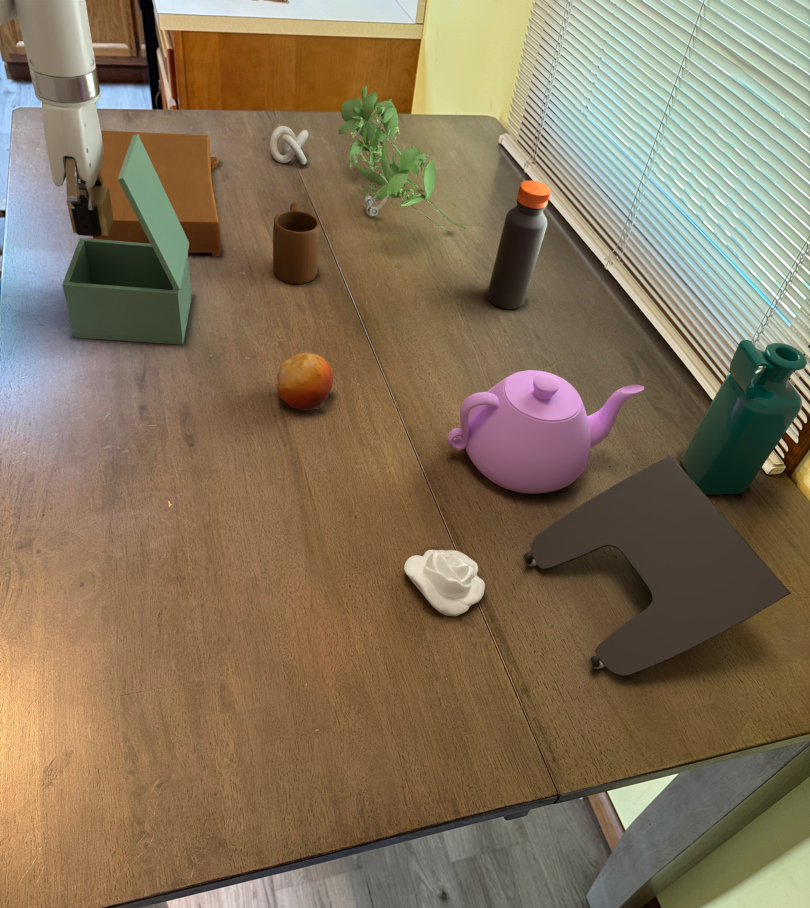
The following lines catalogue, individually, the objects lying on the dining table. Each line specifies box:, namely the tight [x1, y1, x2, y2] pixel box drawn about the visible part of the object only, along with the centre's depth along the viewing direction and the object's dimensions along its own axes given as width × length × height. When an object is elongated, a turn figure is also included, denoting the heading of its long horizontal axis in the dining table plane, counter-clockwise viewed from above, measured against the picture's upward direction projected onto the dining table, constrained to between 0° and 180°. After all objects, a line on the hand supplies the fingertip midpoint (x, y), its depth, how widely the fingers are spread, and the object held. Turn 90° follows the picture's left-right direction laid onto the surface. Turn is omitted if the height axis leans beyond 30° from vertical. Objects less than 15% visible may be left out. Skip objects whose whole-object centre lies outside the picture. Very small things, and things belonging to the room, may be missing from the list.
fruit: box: [276, 352, 334, 411], centre depth 110 cm, size 8×8×8 cm
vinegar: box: [486, 180, 551, 310], centre depth 128 cm, size 7×7×20 cm
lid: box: [118, 134, 189, 291], centre depth 107 cm, size 16×13×1 cm
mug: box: [272, 202, 321, 285], centre depth 130 cm, size 12×8×9 cm, turn 7°
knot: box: [269, 125, 309, 165], centre depth 156 cm, size 8×8×6 cm
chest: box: [61, 237, 193, 346], centre depth 115 cm, size 16×13×9 cm
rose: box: [403, 549, 486, 617], centre depth 92 cm, size 10×4×10 cm
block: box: [66, 186, 114, 236], centre depth 105 cm, size 5×5×5 cm
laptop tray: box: [523, 454, 792, 677], centre depth 94 cm, size 23×23×9 cm
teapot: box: [446, 369, 645, 495], centre depth 105 cm, size 25×18×14 cm
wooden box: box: [92, 129, 222, 257], centre depth 138 cm, size 23×6×35 cm
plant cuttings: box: [337, 85, 467, 233], centre depth 145 cm, size 35×17×22 cm
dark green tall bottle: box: [680, 339, 808, 496], centre depth 105 cm, size 10×8×22 cm
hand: (92, 223), depth 107 cm, fingers closed on block, 4 cm apart
